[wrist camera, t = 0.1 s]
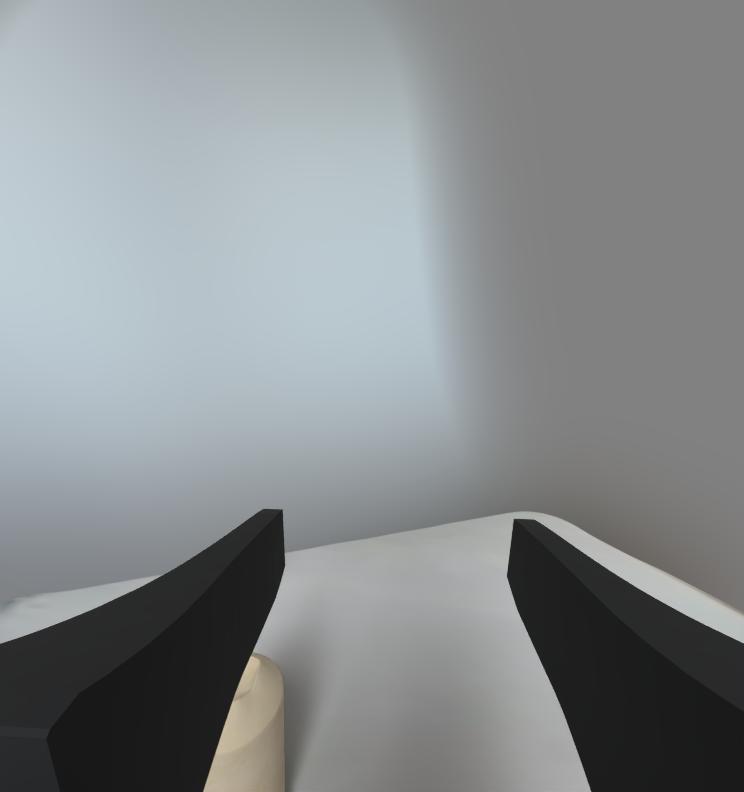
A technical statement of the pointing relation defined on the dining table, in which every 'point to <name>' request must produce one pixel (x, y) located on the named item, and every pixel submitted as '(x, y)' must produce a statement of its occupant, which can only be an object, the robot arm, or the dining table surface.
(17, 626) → the dining table surface
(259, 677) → the candle
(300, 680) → the dining table surface
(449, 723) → the dining table surface
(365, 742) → the dining table surface
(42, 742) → the robot arm
